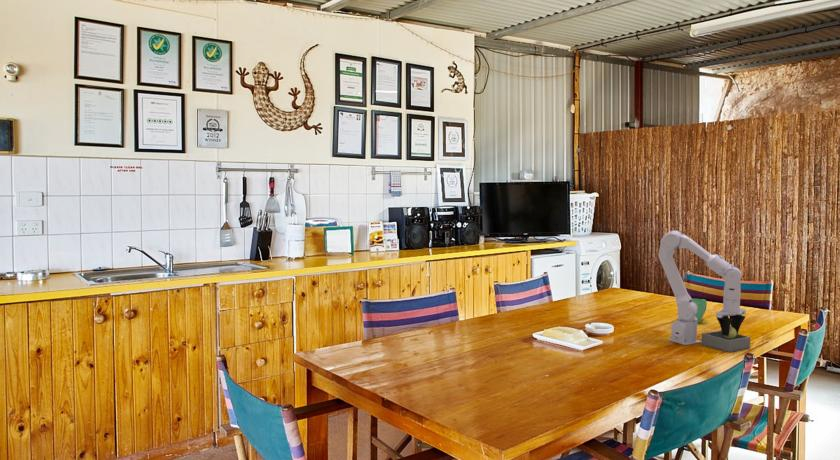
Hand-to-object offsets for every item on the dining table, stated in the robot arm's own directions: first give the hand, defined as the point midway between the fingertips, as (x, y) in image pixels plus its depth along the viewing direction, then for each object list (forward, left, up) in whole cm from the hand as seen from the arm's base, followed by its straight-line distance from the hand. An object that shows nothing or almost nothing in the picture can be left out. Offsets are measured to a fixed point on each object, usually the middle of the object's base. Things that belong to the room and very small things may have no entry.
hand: (730, 334), depth 240 cm
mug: (+25, +35, -5) cm, 43 cm away
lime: (0, 0, -2) cm, 2 cm away
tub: (-1, +1, -5) cm, 5 cm away
